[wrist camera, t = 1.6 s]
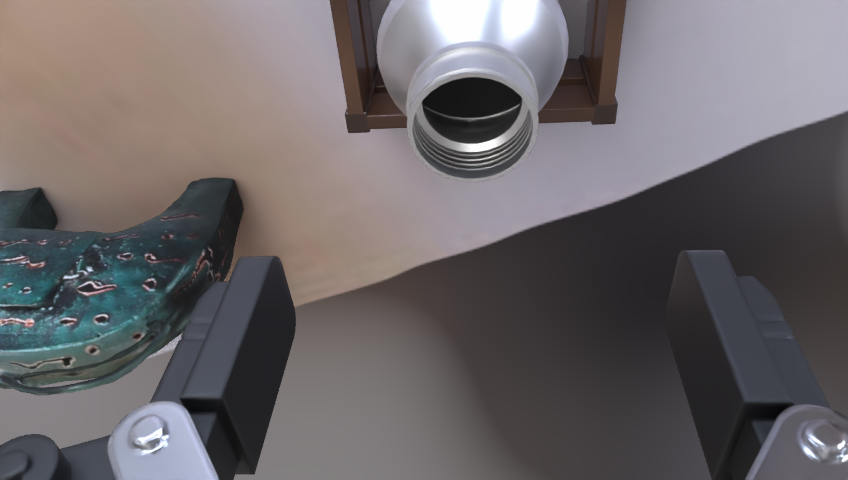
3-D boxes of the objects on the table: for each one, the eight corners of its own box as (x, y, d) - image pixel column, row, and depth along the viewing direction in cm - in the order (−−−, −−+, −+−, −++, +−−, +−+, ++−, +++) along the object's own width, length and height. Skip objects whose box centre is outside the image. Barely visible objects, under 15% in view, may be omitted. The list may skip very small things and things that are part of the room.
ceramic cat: (10, 239, 49) (-200, 481, 34) (-37, 167, 45) (-300, 406, 30) (261, 226, 47) (157, 480, 32) (235, 150, 43) (101, 399, 28)
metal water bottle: (545, -13, 35) (598, 209, 20) (422, 6, 36) (381, 231, 21) (537, -149, 31) (595, -3, 16) (399, -122, 32) (326, 38, 17)
